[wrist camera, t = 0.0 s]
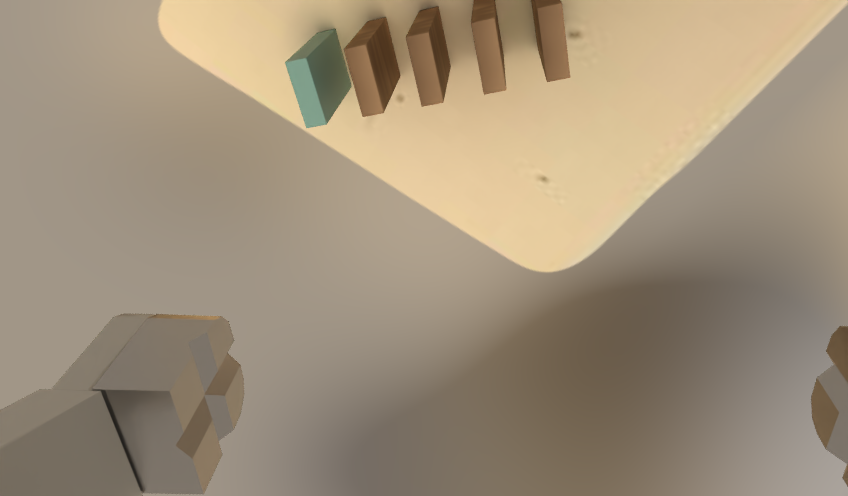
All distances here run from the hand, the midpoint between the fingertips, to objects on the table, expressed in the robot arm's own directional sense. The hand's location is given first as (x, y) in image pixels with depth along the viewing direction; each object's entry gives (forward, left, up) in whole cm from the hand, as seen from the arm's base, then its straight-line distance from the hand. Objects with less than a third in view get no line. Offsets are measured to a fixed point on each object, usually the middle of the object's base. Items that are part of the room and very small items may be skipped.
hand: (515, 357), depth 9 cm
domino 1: (+7, -14, -48) cm, 50 cm away
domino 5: (+4, +4, -48) cm, 48 cm away
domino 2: (+7, -9, -48) cm, 49 cm away
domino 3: (+6, -5, -48) cm, 49 cm away
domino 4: (+5, 0, -48) cm, 48 cm away
